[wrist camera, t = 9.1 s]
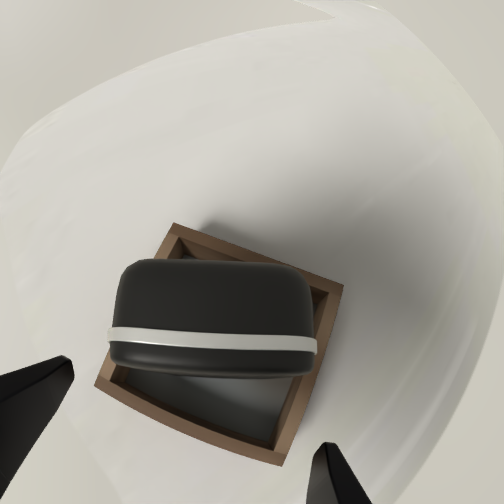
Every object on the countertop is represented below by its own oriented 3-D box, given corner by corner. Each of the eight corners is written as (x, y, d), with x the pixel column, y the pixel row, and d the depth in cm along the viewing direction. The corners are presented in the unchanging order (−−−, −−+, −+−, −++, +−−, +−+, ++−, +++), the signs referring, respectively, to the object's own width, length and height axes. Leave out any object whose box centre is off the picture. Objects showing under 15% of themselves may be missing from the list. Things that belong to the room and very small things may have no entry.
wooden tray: (273, 453, 16) (281, 466, 13) (115, 386, 17) (93, 385, 14) (327, 300, 21) (344, 285, 18) (181, 246, 22) (173, 222, 19)
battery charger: (275, 322, 19) (327, 245, 9) (275, 379, 18) (335, 372, 7) (170, 318, 19) (104, 237, 9) (166, 374, 17) (84, 358, 7)
